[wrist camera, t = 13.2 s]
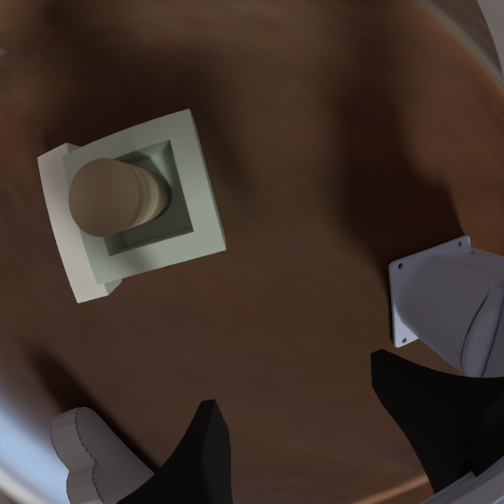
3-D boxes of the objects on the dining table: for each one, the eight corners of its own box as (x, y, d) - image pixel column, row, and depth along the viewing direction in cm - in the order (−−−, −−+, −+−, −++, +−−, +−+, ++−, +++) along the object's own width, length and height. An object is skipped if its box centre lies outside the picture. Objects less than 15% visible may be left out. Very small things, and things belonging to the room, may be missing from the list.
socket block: (195, 124, 18) (189, 108, 15) (225, 238, 20) (226, 249, 16) (88, 160, 18) (62, 156, 14) (117, 268, 20) (97, 285, 16)
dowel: (168, 167, 18) (132, 149, 11) (175, 215, 19) (142, 229, 11) (122, 177, 18) (64, 168, 10) (129, 224, 19) (75, 242, 11)
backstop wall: (85, 147, 18) (66, 142, 15) (122, 281, 20) (108, 295, 17) (58, 160, 18) (37, 157, 15) (94, 288, 20) (77, 303, 17)
